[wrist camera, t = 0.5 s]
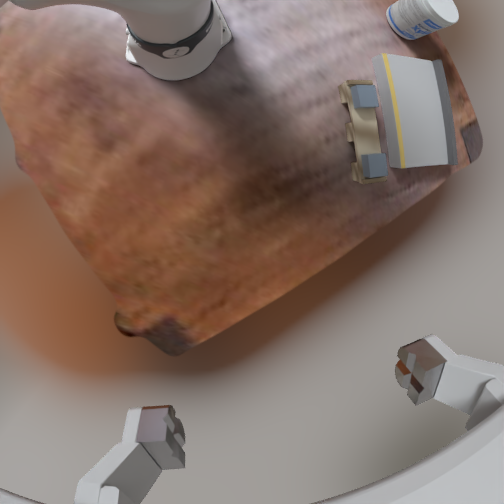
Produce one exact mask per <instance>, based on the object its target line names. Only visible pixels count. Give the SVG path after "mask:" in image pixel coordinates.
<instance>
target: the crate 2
mask: <svg viewBox="0 0 504 504" xmlns="http://www.w3.org/2000/svg"><path fill="white" fill-rule="evenodd" d="M361 158H362V166H363V175H364V177H369V178H372V177H380V176H388V171H387V161H386V153H373V154H363V155H361Z"/></svg>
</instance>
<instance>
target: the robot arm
mask: <svg viewBox="0 0 504 504" xmlns="http://www.w3.org/2000/svg"><path fill="white" fill-rule="evenodd" d="M9 1H10V2H12V3H13V4H15V5H17V6H19V7H21V8H24V9H29V10H36V9H40V8H44V7H49V6H55V5H64V4H81V5H90V6H96V7H101V8H105V9H109V10H112V11H114V12H117V13H118V14H120V15H121V16H122V18H123V19H124V20H125V21H126V22H127V27H128V28H126V35H128V41H127V49H126V59H127V61H128V62H129V63H132V64H135V65H139V66H141V67H143V68H144V69H145V70H146V71H147V72H148V73H150V74H151V75H153V76H155V77H157V78H160V79H164V80H182V79H186V78H190V77H192V76H195V75H197V74H198V73H200V72H202V71H203V70H204V69H206V68H207V67H208V66H209V65H210V64H211V63H212V61H213V60H214V58H215V57H216V55H217V53H218V51H219V50H220V49H221V48H222V47H223V46H224V45H226V44H227V43H228V42H229V41H230V40H231V38H232V36H231V32H230V30H229V28H228V26H227V23H226V21H225V19H224V17H223V15H222V13H221V11H220V9H219V7H218V5H217V3H216V1H215V0H9ZM223 30H224V31H225V32H223ZM397 356H398V357H399V359H400V360H399V361H398V362H397V364H396V367H395V375H396V379H397V381H398V383H399V384H400V386H401V387H403V388H406V389H408V392H407V395H408V396H409V398H410V399H411V400H412V402H413V403H414V404H415V405H419V404H421V403H423V402H425V401H427V400H429V399H431V398H433V397H434V399H436V400H438V401H441V402H443V403H445V404H447V405H449V406H451V407H454V408H456V409H458V410H460V411H463V412H465V413H467V414H469V415H470V418H469V419H468V421H467V423H466V426H465V428H466V429H467V431H468V432H466V433H465V434H463V435H462V436H460V437H459V438H457V439H455V440H454V441H452V442H451V443H449V444H448V445H446V446H444V447H443V448H441V449H439V450H438V451H436V452H434V453H432V454H431V455H429V456H427V457H425V458H424V459H422V460H420V461H418V462H416V463H414V464H412V465H410V466H408V467H406V468H404V469H402V470H400V471H398V472H396V473H394V474H392V475H389V476H387V477H385V478H382V479H380V480H378V481H375V482H373V483H371V484H368V485H366V486H363V487H360V488H358V489H355V490H352V491H350V492H347V493H344V494H341V495H338V496H335V497H332V498H328V499H325V500H322V501H318V502H315V503H311V504H504V365H501V364H497V363H493V362H489V361H484V360H481V359H477V358H473V357H468V356H465V355H461V354H460V355H459V356H458V355H457V354H455V353H454V352H453V351H452V350H451V349H450V348H449V347H448V346H447V345H446V344H445V343H444V342H442V341H441V340H440V339H439V338H438V337H437V336H436V335H434V334H430V335H428V336H426V337H424V338H422V339H419V340H417V341H415V342H412V343H410V344H407V345H405V346H403V347H400V349H399V350H398V355H397ZM184 444H185V433H184V428H183V425H182V423H181V421H180V419H178V418H176V417H175V410H174V408H173V406H171V405H164V406H151V407H150V406H149V407H134V408H130V409H129V410H128V414H127V418H126V422H125V427H124V432H123V437H122V442H121V443H117V444H116V445H115V446H114V447H113V448H112V449H111V450H110V451H109V452H108V453H107V454H106V455H105V456H104V457H103V458H102V459H101V460H100V461H99V462H98V463H97V464H96V465H95V466H94V467H93V468H92V469H91V470H90V471H89V472H88V473H87V474H86V475H85V476H84V477H83V478H82V479H81V480H80V481H79V482H78V486H77V490H76V495H75V500H74V504H140V503H141V502H142V500H143V499H144V497H145V496H146V495H147V493H148V492H149V490H150V489H151V487H152V486H153V484H154V483H155V481H156V479H157V478H158V477H159V475H160V474H161V472H162V470H165V469H166V470H167V469H179V468H185V452H184V451H183V449H182V446H183V445H184ZM0 504H44V503H41V502H38V501H35V500H32V499H28V498H25V497H23V496H19V495H17V494H14V493H12V492H9V491H7V490H4V489H1V488H0Z"/></svg>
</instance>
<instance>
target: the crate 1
mask: <svg viewBox="0 0 504 504" xmlns="http://www.w3.org/2000/svg"><path fill="white" fill-rule="evenodd" d="M350 89H351V94H352V100H353V105H354V109H356V108H375V107H379V104H378V99H377V94H376V88H375V85H355V86H353V87H350Z"/></svg>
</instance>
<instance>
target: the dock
mask: <svg viewBox="0 0 504 504" xmlns="http://www.w3.org/2000/svg"><path fill="white" fill-rule="evenodd" d="M372 62H373V67H374V71H375V76H376V80H377V85H378V90H379V95H380V101H381V106H382V112H383V118H384V125H385V131H386V139H387V147H388V155H389V165H390V167H394V168H410V167H420V166H432V165H444V164H451V165H458V162H457V149H456V139H455V130H454V122H453V115H452V109H451V103H450V97H449V92H448V86H447V82H446V77H445V72H444V68H443V64H442V60H434V61H429V60H424V59H418V58H412V57H406V56H399V55H391V54H384V53H382V54H379V55H377V56H375V57H373V58H372Z"/></svg>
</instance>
